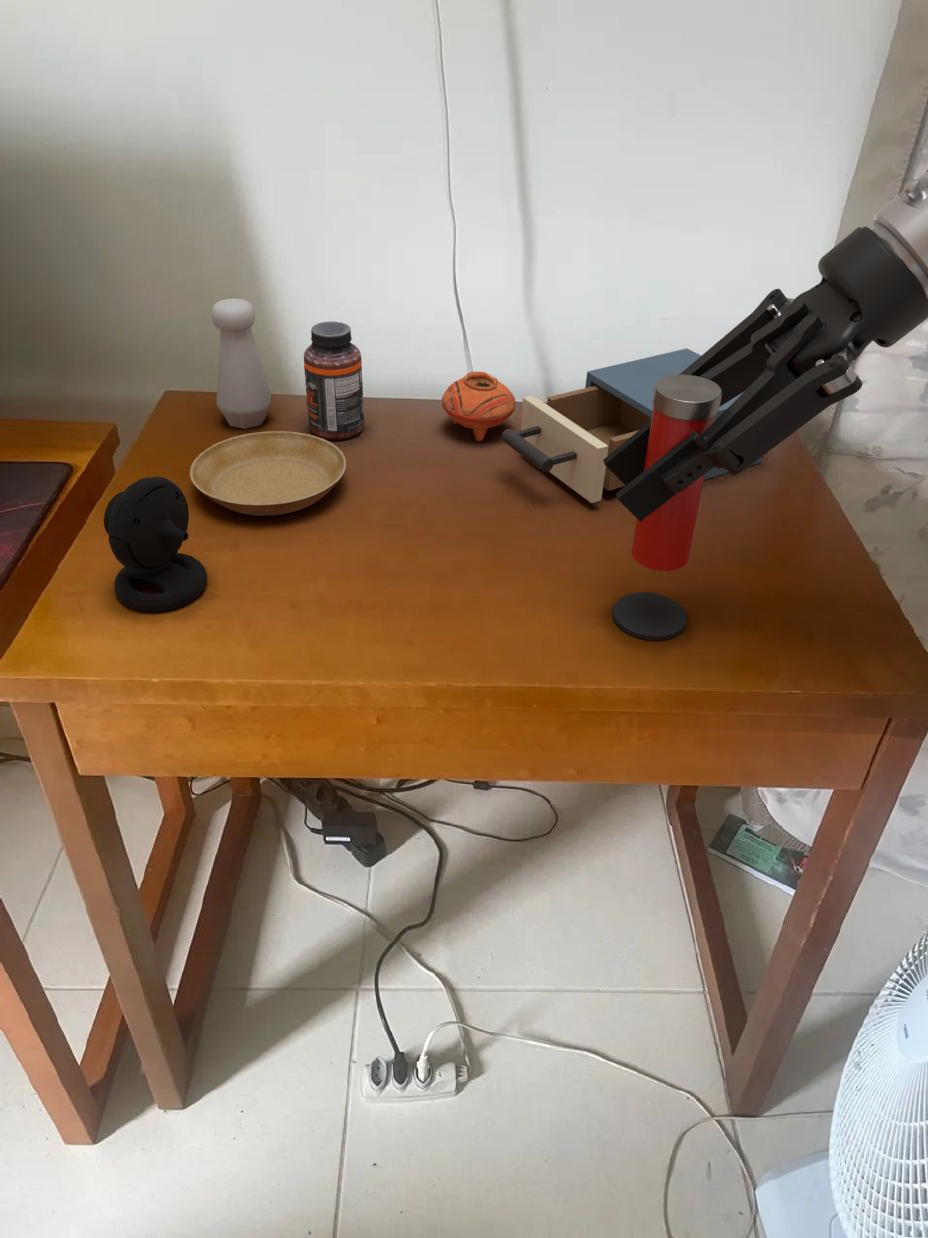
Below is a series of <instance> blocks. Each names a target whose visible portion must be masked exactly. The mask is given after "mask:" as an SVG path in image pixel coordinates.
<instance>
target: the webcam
mask: <svg viewBox="0 0 928 1238" xmlns="http://www.w3.org/2000/svg"><path fill="white" fill-rule="evenodd" d="M189 512H190V511H189V504H188V500H187V498H186V496H185V494H184V492H183V491H182V489H181V488H180V487H179V486H178V485H177V484H176V483H175V482H174V481H172V480H170V479H168V478H166V477H162V476H157V475H156V476H155V475H154V476H150V477H149V476H148V477H143V478H139V479H137V480H136V481H134V482H133V483H131V484H130V485H128V486H127V487H126V489H124V490H122V491H120V492H117V493H116V494H115V495H114V496H113V497H112V498H111V499H110V500H109V502H108V503H107V505H106V507H105V511H104V513H103V527H104V530H105V532H106V534H107V535H108V543H109V547H110V549H111V552H112V554H113V555H114V557H115V559H116V560H117V561H118V563H120V564H121V565H122V566H123V567H122V568H121V569H119V571H118V573H117V574H116V576H115V579H114V584H113V587H114V590H113V591H114V594H115V596H116V597H117V599H118V600H119V601H120V602H121V603H122V604H123V605H125V606H127V607H129V608H130V609H134V610H136V611H141V612H166V611H169V610H174V609H177V608H179V607H181V606H184V605H186V604H189V603H190V602H192V601H194V600H195V599H197V598H198V597H199V596H200V595H201V593H203V591H204V590H205V588H206V585H207V582H208V573H207V569H206V567H205V566H204V565H203V563H202V562H201V561H200V560H199V559H197V558H195V557H193V556H192V555H189V554H186V553H181V552H179V550H180V549H181V547H182V545H183V542H186V541H188V539H189V533H188V528H189V527H188V526H189V521H190V519H189V518H190V516H189V515H190V513H189ZM137 579H140V580H144V581H147V582H150V583H153V584H154V585H156V586H158V587H160V588H161V589H162V591H163V592H159V593H147V592H141V591H139V590H136V589H135V588H134V587H133V584H134V583H135V581H137Z"/></svg>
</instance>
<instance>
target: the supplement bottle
mask: <svg viewBox="0 0 928 1238" xmlns="http://www.w3.org/2000/svg"><path fill="white" fill-rule="evenodd" d="M351 331H352V330H351V327H350V325H348V324H347V323H344V322H340V321H330V320H329V321H323V322H319V323H316V324H314V325H312V326H311V330H310V333H311V334H310V335H311V336H310V337H311V338H310V340H311V344H310V345H308V346H307V348H306V349H305V350H304V352H303V370H304V381H305V392H306V393H305V395H306V405H307V420H308V421H307V422H308V426H309V430H310V432H311V433H312V434H314V436H316V437H319V438H322V439H324V440H333V441H334V440H335V441H337V440H338V441H339V440H340V441H341V440H345V439H351V438H353V437H355V436H358V434H360V433H361V432H362V431H363V429H364V426H365V425H364V424H365V415H364V413H365V411H364V408H365V407H364V388H363V387H364V386H363V384H364V383H363V365H362V364H363V363H362V361H363V359H362V353H361V351H360V349H359V347H358V346H356V345H355V344H354V343H352V339H353V338H352V332H351Z"/></svg>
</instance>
